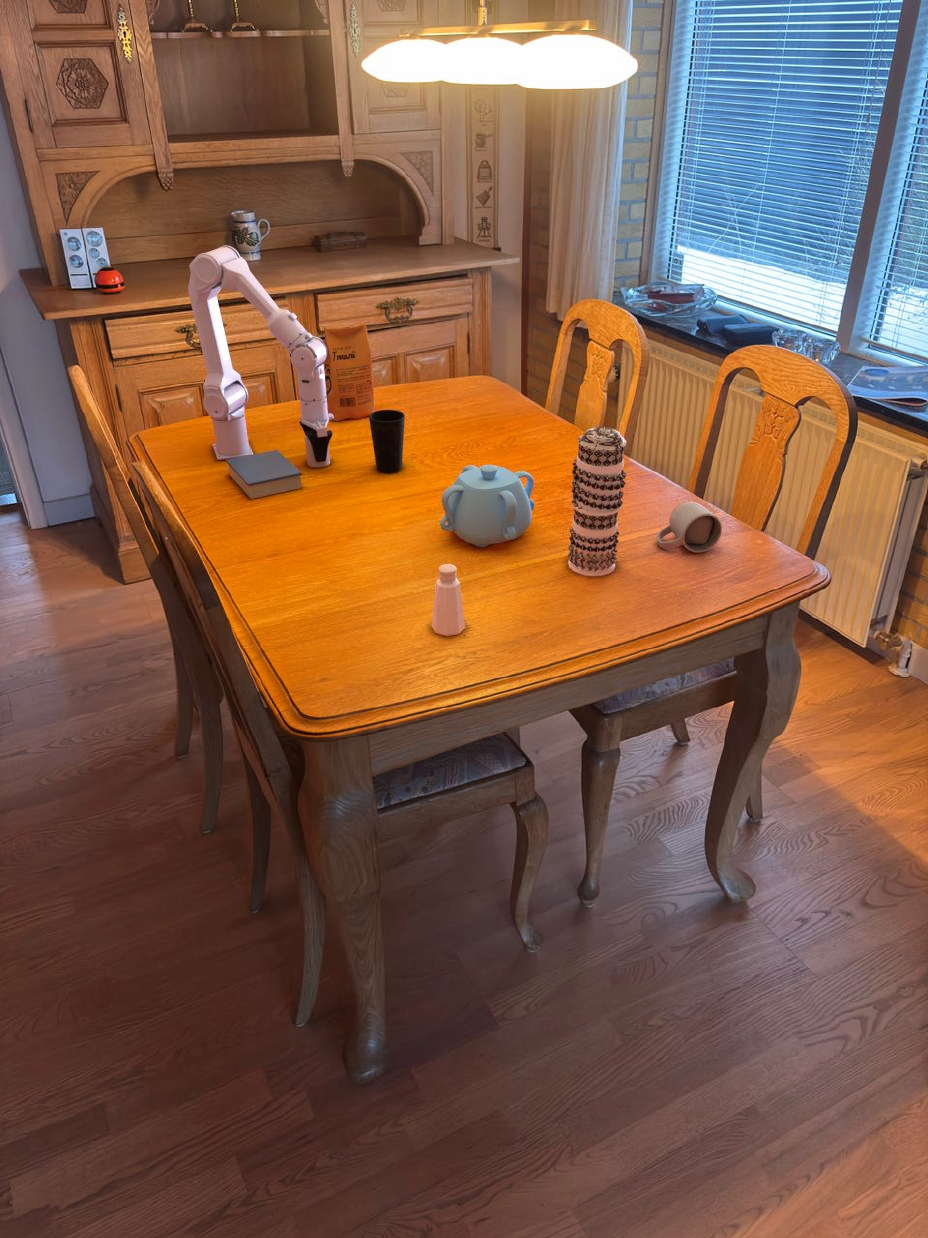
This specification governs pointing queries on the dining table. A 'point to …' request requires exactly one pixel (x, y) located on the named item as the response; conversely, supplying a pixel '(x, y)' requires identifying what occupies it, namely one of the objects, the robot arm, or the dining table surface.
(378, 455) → the cup
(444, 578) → the salt shaker
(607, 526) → the decorative candle
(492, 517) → the decorative pot
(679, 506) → the ceramic mug
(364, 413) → the coffee package
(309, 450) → the white cylindrical tumbler
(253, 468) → the blue hardcover book
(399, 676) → the dining table surface
